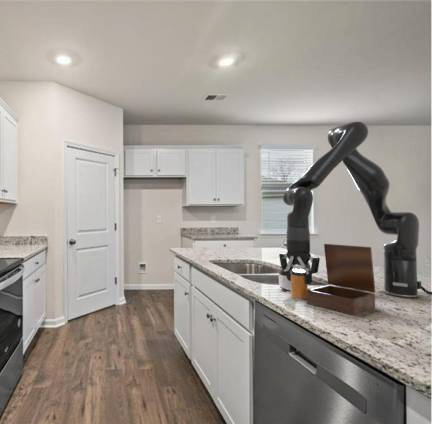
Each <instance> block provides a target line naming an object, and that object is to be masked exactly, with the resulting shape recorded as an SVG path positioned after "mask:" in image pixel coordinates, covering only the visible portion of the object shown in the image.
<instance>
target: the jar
mask: <svg viewBox="0 0 432 424" xmlns="http://www.w3.org/2000/svg"><path fill="white" fill-rule="evenodd" d="M290 274H291V291H290V297H291V298H293V299H297V300H307V290H309V288H308V287H309V285H307V284H305V274H306V273H305V271H304V269H302V270H299V269H291V270H290Z"/></svg>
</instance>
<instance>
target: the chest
mask: <svg viewBox="0 0 432 424" xmlns="http://www.w3.org/2000/svg"><path fill="white" fill-rule="evenodd" d="M306 305H309V306H312V307H317V308H320V309H325V310H328V311H332V312H336V313H340V314H344V315H348V316H351V317H355V316H359V315H362V314H364V313H367V312H370V311H373V310H375V309H376V294H375V292H369V291H364V292H363V291H358V290H352V289H347V288H342V287H337V286H335V285H331V284H327V285H323V286H318V287H313V288H308V290H307V299H306Z"/></svg>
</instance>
